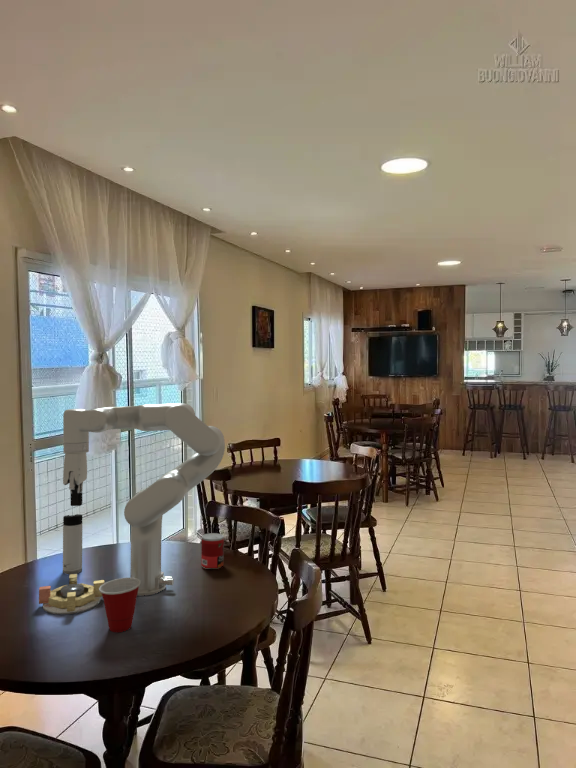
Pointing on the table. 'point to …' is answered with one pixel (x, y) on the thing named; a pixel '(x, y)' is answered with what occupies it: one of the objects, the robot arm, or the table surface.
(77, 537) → the travel mug
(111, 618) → the plastic cup
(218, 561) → the canned food
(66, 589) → the flange
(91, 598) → the locking ring
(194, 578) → the table surface
